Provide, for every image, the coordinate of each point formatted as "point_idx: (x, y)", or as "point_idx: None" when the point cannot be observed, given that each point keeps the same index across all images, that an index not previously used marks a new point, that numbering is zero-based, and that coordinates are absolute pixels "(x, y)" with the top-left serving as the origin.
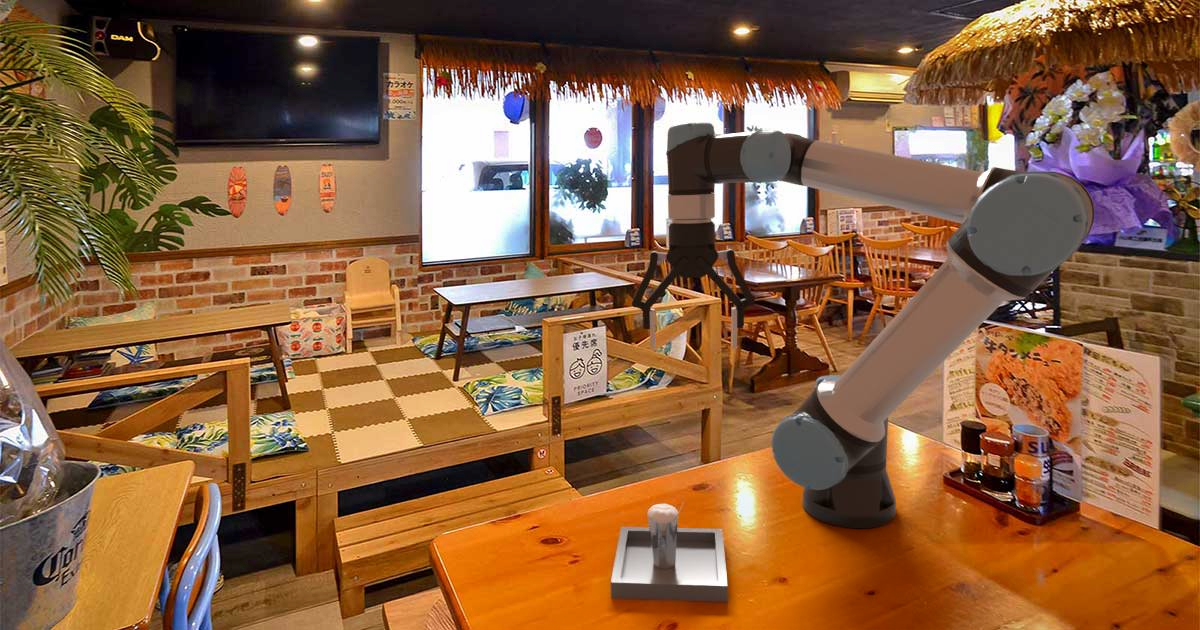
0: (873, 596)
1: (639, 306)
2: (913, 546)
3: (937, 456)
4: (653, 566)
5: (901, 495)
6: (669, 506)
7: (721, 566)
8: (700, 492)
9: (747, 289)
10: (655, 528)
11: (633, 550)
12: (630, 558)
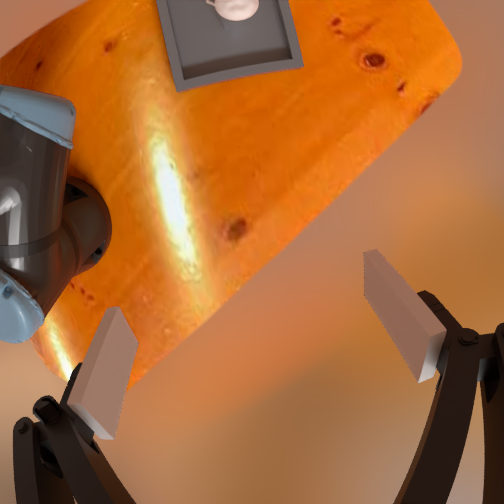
0: (37, 60)
1: (487, 339)
2: None
3: (42, 349)
4: None
5: None
6: (229, 7)
7: (164, 14)
8: (233, 214)
9: (18, 469)
10: None
11: (277, 39)
12: (275, 24)
